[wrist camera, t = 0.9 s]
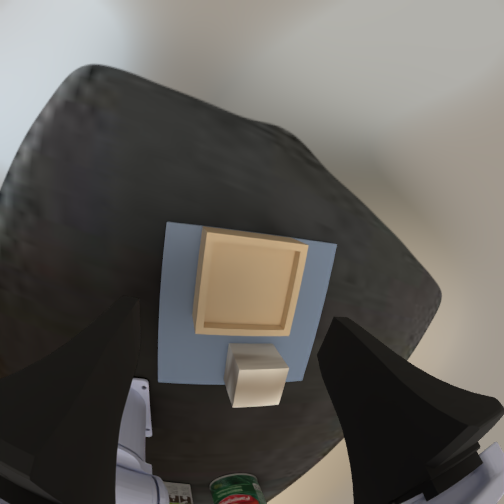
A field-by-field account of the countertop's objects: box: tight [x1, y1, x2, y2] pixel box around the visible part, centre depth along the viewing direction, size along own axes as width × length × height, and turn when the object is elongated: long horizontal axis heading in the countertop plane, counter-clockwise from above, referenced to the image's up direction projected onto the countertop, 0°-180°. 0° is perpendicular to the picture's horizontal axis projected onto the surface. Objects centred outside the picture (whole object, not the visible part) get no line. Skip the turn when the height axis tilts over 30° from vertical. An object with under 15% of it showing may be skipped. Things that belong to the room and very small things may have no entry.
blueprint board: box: [158, 221, 337, 385], centre depth 24 cm, size 16×16×4 cm
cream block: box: [224, 343, 289, 408], centre depth 24 cm, size 4×4×4 cm
